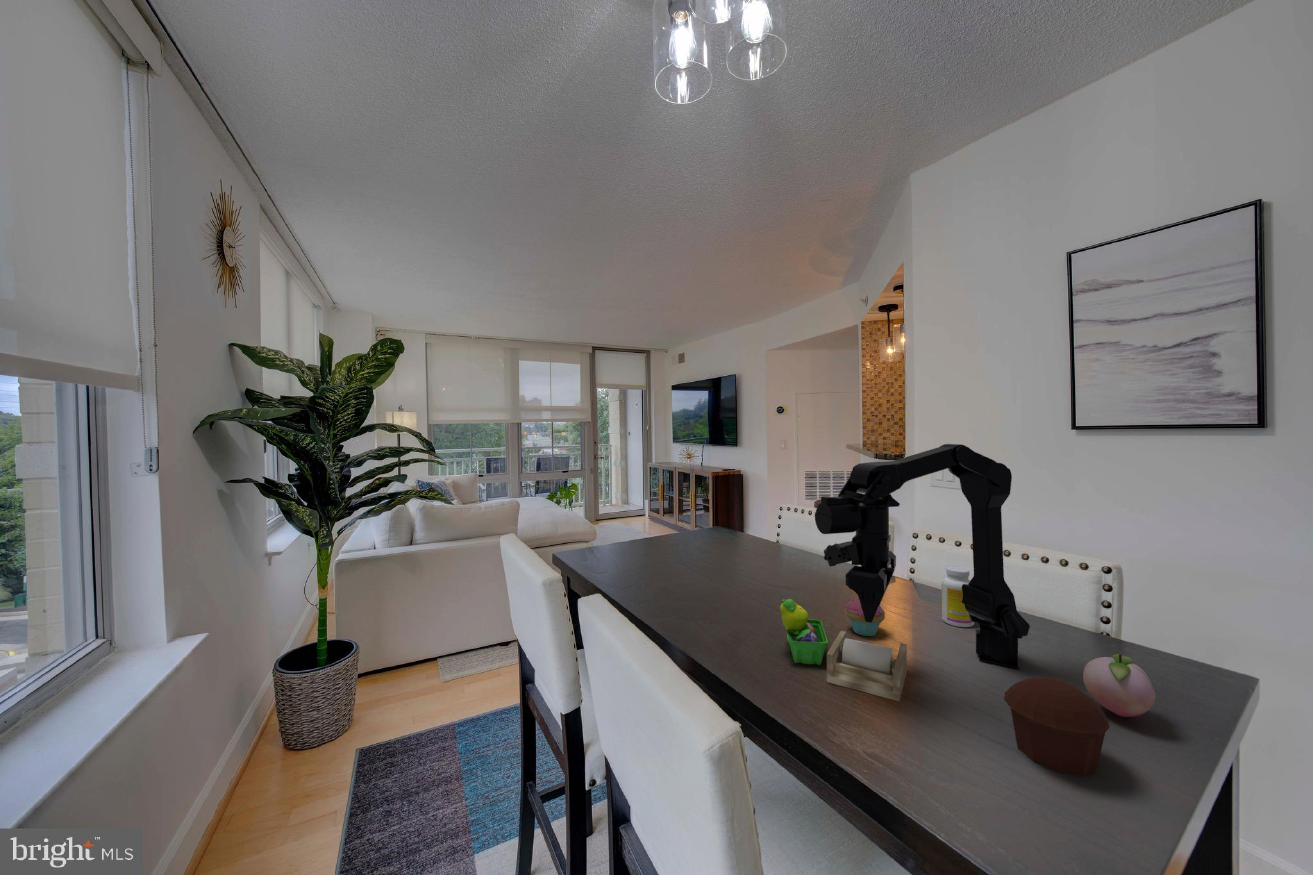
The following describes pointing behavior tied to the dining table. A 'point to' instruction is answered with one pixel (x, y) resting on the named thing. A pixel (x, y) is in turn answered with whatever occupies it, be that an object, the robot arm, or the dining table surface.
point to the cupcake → (863, 619)
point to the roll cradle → (866, 673)
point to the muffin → (1057, 725)
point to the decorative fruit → (1119, 685)
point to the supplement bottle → (955, 597)
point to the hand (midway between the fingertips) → (872, 613)
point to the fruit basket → (803, 634)
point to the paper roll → (867, 656)
